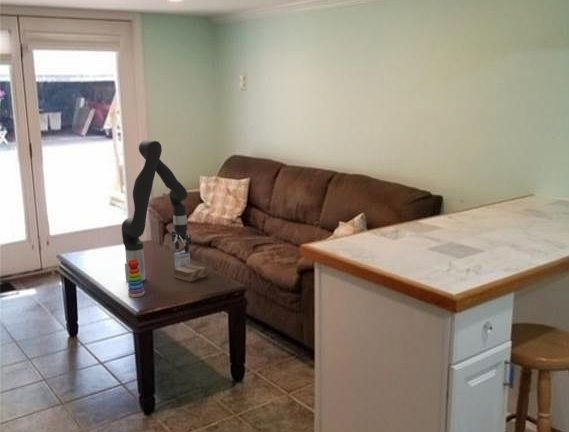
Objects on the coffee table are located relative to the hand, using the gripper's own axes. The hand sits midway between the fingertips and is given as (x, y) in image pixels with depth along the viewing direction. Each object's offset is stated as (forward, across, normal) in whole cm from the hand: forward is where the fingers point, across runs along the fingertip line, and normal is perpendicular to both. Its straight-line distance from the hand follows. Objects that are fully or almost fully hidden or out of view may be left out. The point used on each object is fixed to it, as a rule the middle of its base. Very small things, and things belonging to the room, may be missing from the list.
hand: (182, 250), depth 342 cm
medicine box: (+10, 0, 0) cm, 10 cm away
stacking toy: (+9, +20, -45) cm, 50 cm away
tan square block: (+10, +18, -9) cm, 22 cm away
